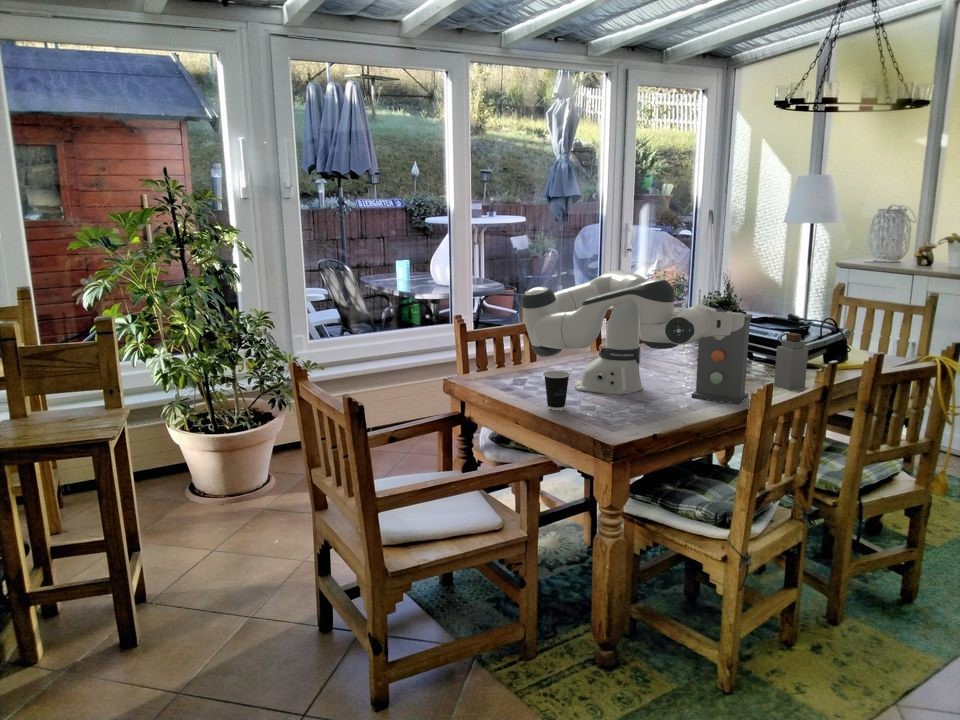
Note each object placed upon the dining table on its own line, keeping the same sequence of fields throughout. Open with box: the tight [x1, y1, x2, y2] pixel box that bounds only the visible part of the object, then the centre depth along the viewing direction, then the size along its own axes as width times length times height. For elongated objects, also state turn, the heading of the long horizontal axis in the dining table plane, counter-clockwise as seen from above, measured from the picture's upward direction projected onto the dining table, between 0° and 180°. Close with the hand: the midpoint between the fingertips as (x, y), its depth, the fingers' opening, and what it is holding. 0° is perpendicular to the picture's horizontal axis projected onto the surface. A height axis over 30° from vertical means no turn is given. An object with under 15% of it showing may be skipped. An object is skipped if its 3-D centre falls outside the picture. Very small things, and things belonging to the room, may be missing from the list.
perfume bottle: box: [773, 332, 809, 391], centre depth 244 cm, size 7×7×18 cm
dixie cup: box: [543, 370, 571, 411], centre depth 223 cm, size 8×8×11 cm
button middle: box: [711, 350, 725, 362], centre depth 228 cm, size 4×3×4 cm
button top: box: [713, 336, 725, 340], centre depth 226 cm, size 4×3×4 cm
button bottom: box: [710, 372, 723, 384], centre depth 229 cm, size 4×3×4 cm
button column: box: [691, 313, 753, 404], centre depth 231 cm, size 15×10×27 cm, turn 56°
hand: (714, 313), depth 212 cm, fingers closed
